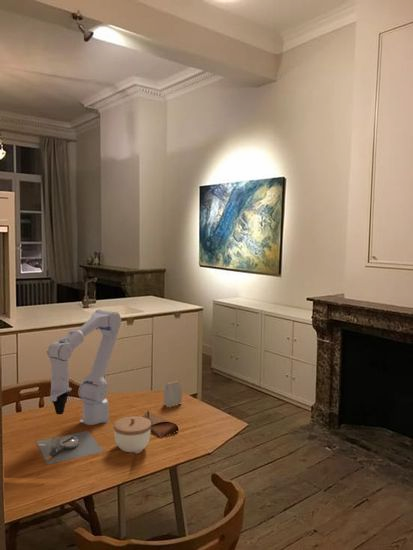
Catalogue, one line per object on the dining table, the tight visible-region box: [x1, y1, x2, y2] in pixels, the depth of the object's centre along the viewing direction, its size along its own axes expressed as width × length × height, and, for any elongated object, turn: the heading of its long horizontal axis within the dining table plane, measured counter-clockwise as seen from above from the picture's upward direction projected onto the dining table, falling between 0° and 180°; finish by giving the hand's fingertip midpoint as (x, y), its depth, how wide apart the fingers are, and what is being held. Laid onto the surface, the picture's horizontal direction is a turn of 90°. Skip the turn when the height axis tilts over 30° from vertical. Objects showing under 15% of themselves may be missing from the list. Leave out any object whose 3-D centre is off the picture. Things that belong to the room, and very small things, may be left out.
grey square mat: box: [36, 430, 104, 465], centre depth 153 cm, size 18×18×1 cm
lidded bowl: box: [113, 415, 151, 455], centre depth 154 cm, size 13×13×11 cm
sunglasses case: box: [141, 410, 179, 439], centre depth 172 cm, size 18×7×7 cm
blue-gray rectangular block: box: [163, 380, 183, 408], centre depth 195 cm, size 4×7×10 cm, turn 131°
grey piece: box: [49, 436, 78, 456], centre depth 151 cm, size 11×6×5 cm, turn 154°
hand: (59, 413), depth 160 cm, fingers closed
